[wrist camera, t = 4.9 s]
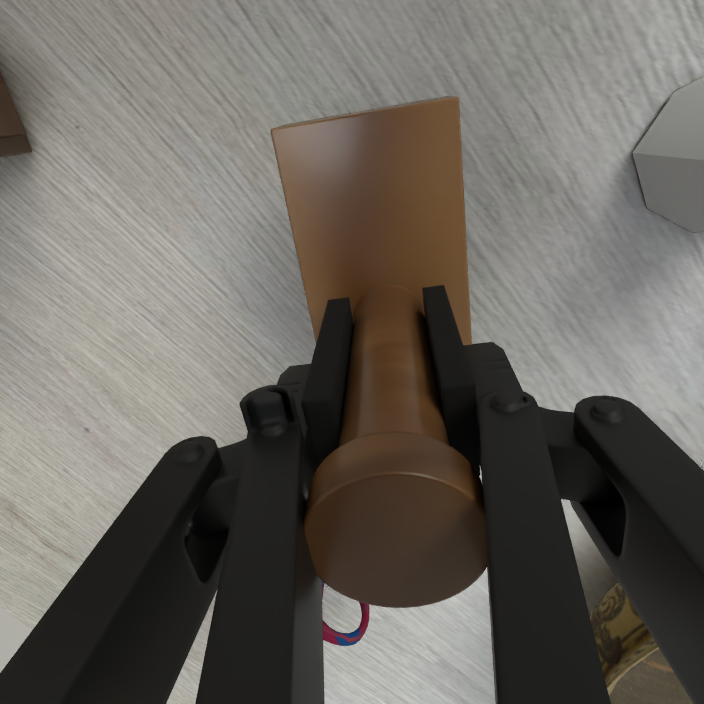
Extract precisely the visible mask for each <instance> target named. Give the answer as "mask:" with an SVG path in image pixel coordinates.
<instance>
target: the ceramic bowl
mask: <svg viewBox="0 0 704 704" xmlns="http://www.w3.org/2000/svg"><path fill="white" fill-rule="evenodd" d="M590 620H591V625H592V629H593V633H594V637H595V641H596V645H597V649H598V653H599V657H600V661H601V665H602V669H603V673H604V677H605V681H606V685H607V690H608V694H609V698H610V702H611V704H693V702H692V701H691V699H690V697H689V696H688V694H687V693H686V691H685V689H684V688H683V686H682V684H681V683H680V681H679V680H678V678H677V676H676V675H675V673H674V671H673V670H672V668H671V667H670V665H669V663H668V662H667V660H666V658H665V657H664V655H663V654H662V652H661V650H660V649H659V647H658V645H657V644H656V642H655V641H654V639H653V637H652V636H651V634H650V632H649V631H648V629H647V628H646V626H645V624H644V623H643V621H642V619H641V618H640V616H639V615H638V613H637V611H636V610H635V608H634V606H633V605H632V603H631V602H630V600H629V598H628V597H627V595H626V593H625V592H624V590H623V589H622V587H621V585H620V584H619V582H618V583H617V584H616V585H615V586H613V587H612V588H611V589H610V590H609V591H608V592H607V594H606V595H605V596H604V597H603V598H602V600H601V601H600V602H599V603H598V605H597V606H596V608H595V609H594V611H593V612H592V614H591V616H590Z"/></svg>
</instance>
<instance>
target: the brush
mask: <svg viewBox="0 0 704 704" xmlns="http://www.w3.org/2000/svg"><path fill="white" fill-rule="evenodd" d="M271 135H272V140H273V145H274V149H275V154H276V159H277V163H278V168H279V173H280V177H281V182H282V187H283V191H284V196H285V201H286V206H287V210H288V215H289V220H290V224H291V229H292V234H293V238H294V243H295V248H296V252H297V257H298V262H299V266H300V271H301V276H302V280H303V285H304V290H305V294H306V299H307V304H308V308H309V313H310V318H311V322H312V327H313V332H314V336H315V341H316V343H317V339H318V336H319V332H320V328H321V324H322V320H323V317H324V313H325V309H326V305H327V302H328V300H331V299H338V298H346V297H349V301H350V306H351V312H352V318H353V324H354V327H353V335H352V343H351V351H350V359H349V367H348V375H347V383H346V392H345V400H344V408H343V416H342V424H341V432H340V440H339V448H337V449H336V450H335V451H333V452H332V453H331V454H330V455H329V456H328V457H326V458H325V459H324V460H323V462H322V463H321V464H320V465H319V467H318V468H317V470H316V472H315V473H314V475H313V477H312V480H311V483H310V487H309V492H308V498H307V503H306V509H305V514H304V520H303V528H304V532H305V536H306V540H307V543H308V547H309V550H310V554H311V557H312V561H313V564H314V568H315V571H316V574H317V576H318V577H319V578H320V579H321V580H322V581H323V582H324V583H326V584H327V585H328V586H330V587H331V588H332V589H334V590H335V591H337V592H339V593H341V594H342V595H345V596H347V597H349V598H351V599H354V600H357V601H360V602H363V603H367V604H371V605H376V606H382V607H393V608H408V607H418V606H424V605H429V604H433V603H436V602H440V601H443V600H445V599H448V598H450V597H452V596H454V595H456V594H458V593H460V592H462V591H463V590H465V589H466V588H468V587H469V586H470V585H471V584H473V583H474V582H475V581H476V580H477V579H478V578H479V577H480V576H481V575H482V573H483V572H484V570H485V569H486V567H487V546H486V525H485V506H484V493H483V486H482V482H481V479H480V477H479V475H478V473H477V472H476V470H475V469H474V467H473V466H472V465H471V463H470V462H469V461H468V460H467V459H466V458H465V457H464V456H463V455H462V454H461V453H459V452H458V451H457V450H455V449H454V448H452V447H451V446H449V441H448V436H447V430H446V427H445V422H444V417H443V411H442V406H441V401H440V395H439V390H438V384H437V379H436V374H435V368H434V363H433V358H432V352H431V347H430V342H429V336H428V331H427V326H426V320H425V312H424V302H423V292H422V288H424V287H432V286H439V285H444V286H445V289H446V293H447V296H448V299H449V302H450V305H451V308H452V312H453V315H454V318H455V321H456V324H457V327H458V330H459V334H460V337H461V340H462V343H463V345H471V344H472V339H471V320H470V301H469V282H468V263H467V244H466V225H465V206H464V187H463V168H462V149H461V130H460V111H459V98H458V97H455V96H445V97H440V98H434V99H428V100H422V101H417V102H411V103H405V104H399V105H394V106H388V107H382V108H377V109H371V110H365V111H359V112H354V113H348V114H342V115H337V116H331V117H325V118H319V119H314V120H308V121H302V122H297V123H291V124H285V125H282V126H279V127H276V128H273V129H271Z"/></svg>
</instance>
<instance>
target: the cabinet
mask: <svg viewBox="0 0 704 704" xmlns="http://www.w3.org/2000/svg"><path fill="white" fill-rule="evenodd" d="M25 134H26V132H25V130H24V127H23V125H22V123H21V120H20V118H19V115H18V113H17V111H16V108H15V106H14V103H13V101H12V99H11V96H10V94H9V91H8V89H7V87H6V84H5V82H4V79H3V77H2V74H1V72H0V158H3V157H9V156H14V155H20V154H25V153H31V152H32V150H31V147H30V145H29V142H28V140H27V137H26V135H25Z"/></svg>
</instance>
